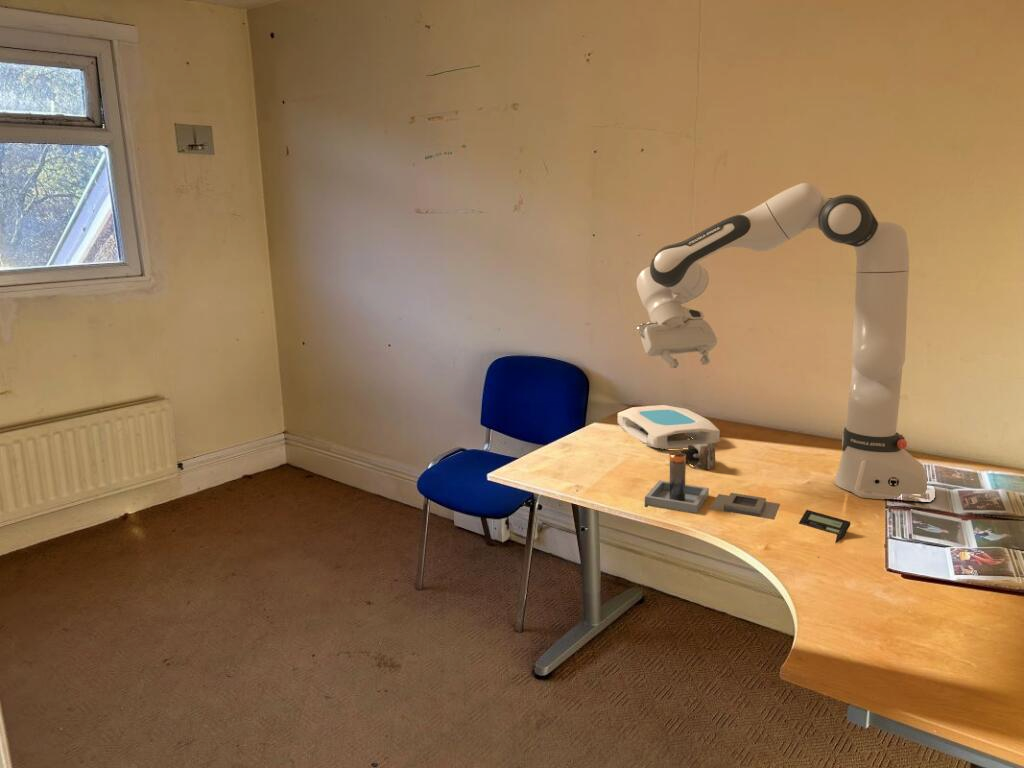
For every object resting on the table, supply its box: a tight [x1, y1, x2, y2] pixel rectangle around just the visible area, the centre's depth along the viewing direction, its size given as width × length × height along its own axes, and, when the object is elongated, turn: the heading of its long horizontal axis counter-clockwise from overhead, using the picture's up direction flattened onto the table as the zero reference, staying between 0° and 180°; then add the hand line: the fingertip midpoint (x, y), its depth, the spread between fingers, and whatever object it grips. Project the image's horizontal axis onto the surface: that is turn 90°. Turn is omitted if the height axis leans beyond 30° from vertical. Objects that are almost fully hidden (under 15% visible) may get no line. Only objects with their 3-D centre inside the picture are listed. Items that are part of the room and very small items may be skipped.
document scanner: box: [617, 404, 721, 451], centre depth 226 cm, size 21×28×6 cm
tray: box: [644, 480, 710, 514], centre depth 174 cm, size 12×12×2 cm
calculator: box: [798, 509, 851, 545], centre depth 156 cm, size 9×12×3 cm
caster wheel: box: [680, 443, 717, 470], centre depth 200 cm, size 7×11×10 cm
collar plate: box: [709, 492, 781, 520], centre depth 170 cm, size 14×10×2 cm
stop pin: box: [669, 451, 687, 501], centre depth 173 cm, size 4×4×11 cm
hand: (691, 365), depth 185 cm, fingers open, 8 cm apart
